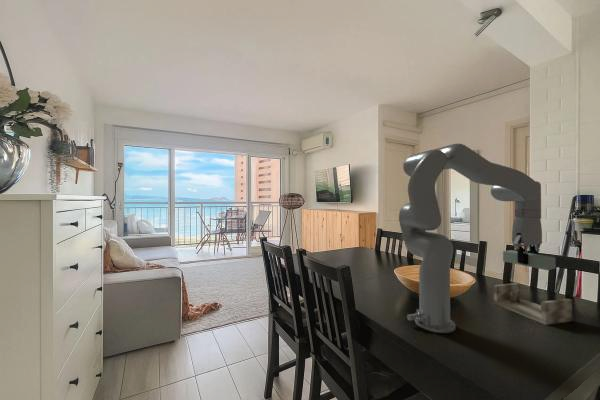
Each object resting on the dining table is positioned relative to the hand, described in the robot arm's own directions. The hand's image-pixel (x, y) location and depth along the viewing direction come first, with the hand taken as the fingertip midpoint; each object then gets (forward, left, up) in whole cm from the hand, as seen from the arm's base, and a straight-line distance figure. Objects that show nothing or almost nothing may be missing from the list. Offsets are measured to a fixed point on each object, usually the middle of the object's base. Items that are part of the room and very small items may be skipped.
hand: (528, 262), depth 98 cm
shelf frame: (+2, +1, -19) cm, 19 cm away
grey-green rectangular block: (0, 0, -1) cm, 1 cm away
